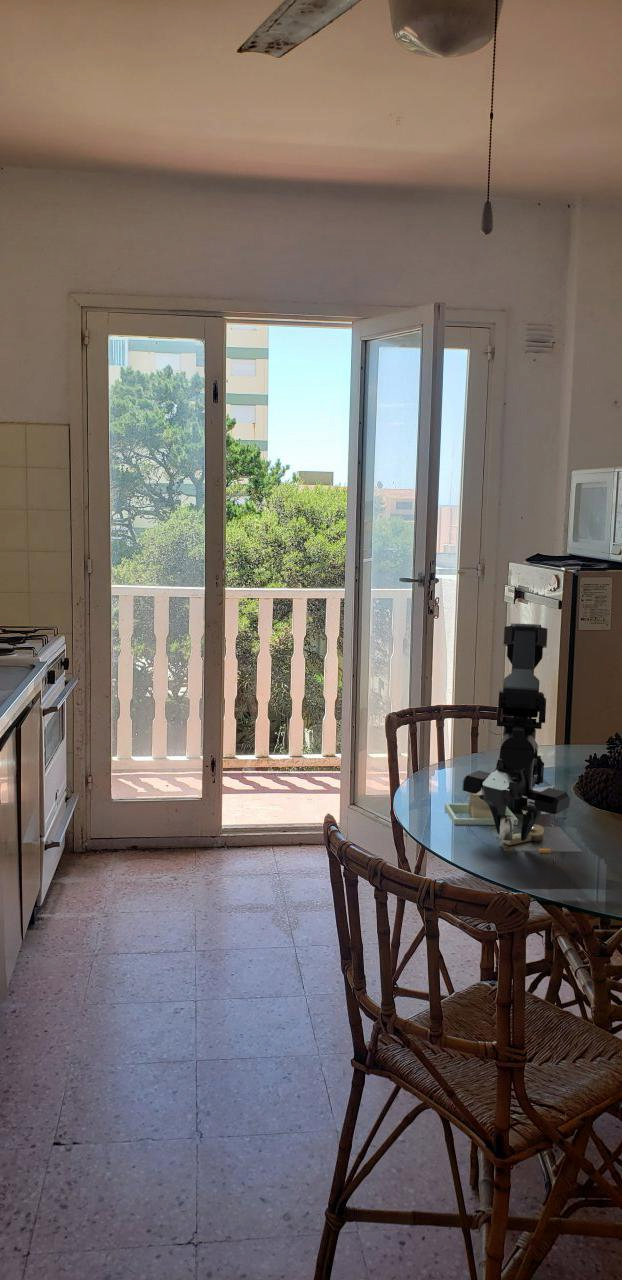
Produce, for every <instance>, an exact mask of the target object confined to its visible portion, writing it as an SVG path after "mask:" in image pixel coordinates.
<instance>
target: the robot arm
mask: <svg viewBox="0 0 622 1280" xmlns="http://www.w3.org/2000/svg"><path fill="white" fill-rule="evenodd" d="M503 628H504V630H503V646H504V647H507V649H506V656H507V658H508V660H509V662H510V664H511V672H510V674H508V675H507V676H505V677H504V679H503V688H502V689H499V690H498V691H499V692H498V701H497V702H498V703H497V704H498V705H497V715H496V716H497V717H496V719H497V720H496V727H503V728H502V739H501V744H500V748H499V750H500V751H499V757H498V759H497V762H496V767H495V769H494V771H493V772H491V773H490V772H487V771H483V770H475V772H472V773H469V774H467V775H465V776H464V777H463V780H462V788H461V789H462V791H463V792H467V793H469V792H470V793H474V794H477V793H478V792H479V791H481V789H482V793H481V795H480V796H479V798H480V799H482V800H484V801H485V802H486V803H487V804H488V805H489V807H490V810H491V812H492V815H493V819H494V822H495V826H494V827H496V829H497V832H498V834H499V832H500V816H501V815H507V814H506V806H507V807H508V808H509V809H510V810H511V812H512V813H513V814H522V823H521V827H522V830H521V840H522V841H524V840H526V838H527V836H528V834H529V832H530V831H531V829H532V827H533V825H534V824H535V823H536V822H537V819H538V817H539V816H540V815H541V813H547V814H550V815H557V814H559V813H560V812H563V811H565V810H566V809H569V808H570V802H571V799H570V796H569V794H568V792H567V791H563V790H560V789H555V788H552V787H548V788H546V789H544V790H542V791H538V790H534V787H535V786H536V785H538V786H539V785H540V784H543V783H544V771H545V762H544V761H543V759H542V756H541V755H538V754H539V752H538V751H539V745H538V743H537V741H536V735H537V730H541V729H542V724H546V715H547V713H546V711H547V709H546V708H547V698H546V697H545V693H544V692H540V679H539V678H538V677H537V676H536V675H535V668H537V666H538V665H539V663H540V662H541V661H542V659H543V652H544V649H547V646H548V645H547V644H548V628H547V627H546V628H545V627H542V624H534V623H510V625H508V626H507V625H506V626H504V627H503ZM537 718H538V721H537Z"/></svg>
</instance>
